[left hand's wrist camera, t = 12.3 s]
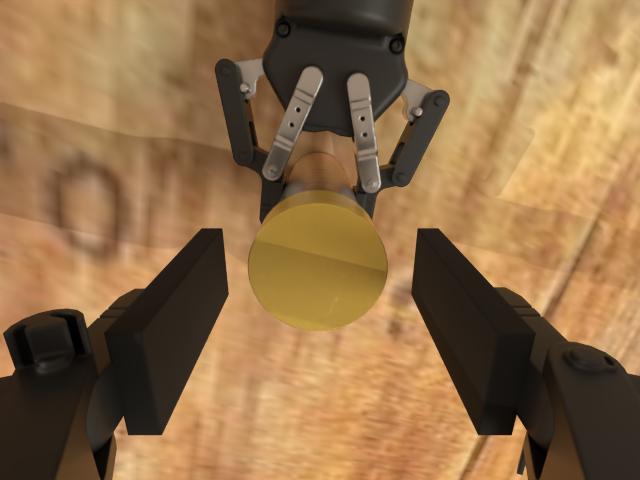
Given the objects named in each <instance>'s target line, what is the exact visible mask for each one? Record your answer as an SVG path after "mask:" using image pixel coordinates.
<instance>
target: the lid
mask: <svg viewBox="0 0 640 480" xmlns="http://www.w3.org/2000/svg"><path fill="white" fill-rule="evenodd" d="M387 272H388V262H387V255H386V251H385V248H384V245H383V243H382V241H381V239H380V236H379V234H378V232H377V230H376V228H375V226H374V224H373V221H372V220H371V218H370V217H369V215H368V214H367V213H366V211H365V210H364V209H363V208H362V207H361V206H360V205H359V204H357V203H356V202H355V201H353V200H352V199H350V198H348V197H346V196H344V195H342V194H339V193H336V192H331V191H326V190H310V191H304V192H300V193H297V194H294V195H292V196H290V197H288V198H286V199H284V200H283V201H281V202H280V203H278V204H277V205H276V206H275V207H274V208H273V209H272V210H271V211H270V212H269V213H268V215H267V216H266V218H265V219H264V221H263V223H262V225H261V227H260V229H259V231H258V233H257V236H256V238H255V240H254V242H253V244H252V247H251V250H250V253H249V259H248V274H249V280H250V284H251V287H252V289H253V292H254V294H255V296H256V297H257V299H258V301H259V302H260V303H261V305H262V306H263V307H264V308H265V309H266V310H267V311H268V312H269V313H270V314H271V315H273V316H274V317H275V318H277V319H278V320H280V321H282V322H283V323H285V324H288V325H290V326H293V327H296V328H299V329H304V330H312V331H324V330H331V329H336V328H340V327H343V326H345V325H348V324H350V323H352V322H354V321H356V320H357V319H359V318H360V317H362V316H363V315H364V314H366V313H367V312H368V311H369V310H370V309H371V308H372V306H373V305H374V304H375V303H376V301H377V300H378V298H379V297H380V295H381V293H382V291H383V288H384V286H385V282H386V278H387Z"/></svg>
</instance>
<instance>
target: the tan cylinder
mask: <svg viewBox="0 0 640 480" xmlns="http://www.w3.org/2000/svg"><path fill="white" fill-rule="evenodd" d="M310 190H326V191H331V192H336V193H339V194H342V195H344V196H346V197H348V198H350V199H352V200H353V201H355V202H356V203H357V200H356V198H355V195H354V193H353V190H352V188H351V185H350V183H349V180H348V178H347V175H346V173H345V170H344V168H343V166H342V165H341V163H340V162H339V161H338V160H337V159H336V158H334V157H333V156H331V155H329V154H326V153H321V152H316V153H310V154H308V155H305V156H304V157H302V158H301V159H300V160H299V161H298V162H297V163H296V164H295V166H294V167H293V170H292V172H291V174H290V177H289V179H288V182H287V184H286V186H285V189H284V191H283V194H282V196H281V199H280V201H279V203H280V202H281V201H283V200H284V199H286V198H288V197H290V196H292V195H294V194H297V193H300V192H304V191H310ZM357 204H358V203H357Z"/></svg>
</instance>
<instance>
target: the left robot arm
mask: <svg viewBox="0 0 640 480" xmlns="http://www.w3.org/2000/svg"><path fill="white" fill-rule="evenodd" d="M228 295H229V293H228V282H227V272H226V262H225V251H224V241H223V231H222V228H202V229H201V230H200V231H199V232H198V233H197V234H196V235H195V236H194V237H193V238H192V239H191V240H190V241H189V242H188V244H187V245H186V246H185V247H184V248H183V249H182V250H181V251H180V252H179V253H178V254H177V255H176V256H175V257H174V258H173V260H172V261H171V262H170V263H169V264H168V265H167V266H166V267H165V268H164V269H163V270H162V271H161V272H160V273H159V274H158V276H157V277H156V278H155V279H154V280H153V281H152V282H151V283H150V284H149V285H148V286H147V287H146V288H145V289H134V290H132V291H130V292H128V293H126V294H124V295H123V296H121V297H119V298H118V299H117V300H116V301H115V302H114V303H113V304H112V305H111V306H110V307H109V309H108V310H106V311H105V312H104V313H103V314H102V315H100V318H97V319H96V320H95V321H94V322H93V323H92V324H91V325H90V326H89V327H88V328H87V327H86V323H85V319H84V315H83V313H81V312H80V311H78V310H74V309H56V310H50V311H46V312H42V313H38V314H35V315H33V316H30V317H27V318H25V319H23V320H21V321H19V322H17V323H15V324H14V325H12V326H11V327H9V328H8V329H7V330H6V331H5V332H4V333H3V335H4V338H5V341H6V344H7V346H8V349H9V352H10V355H11V358H12V361H13V364H14V366H15V371H14V373H13V375H12V376H7V377H2V378H0V480H112V477H113V470H114V463H115V456H116V450H117V447H116V440H115V436H114V430H115V429H116V427H117V425H118V424H119V422H120V421H121V419H122V418H123V416H124V419H125V423H126V428H127V432H128V435H162V434H163V431H164V429H165V427H166V425H167V423H168V421H169V419H170V417H171V415H172V413H173V410H174V408H175V406H176V404H177V402H178V400H179V398H180V396H181V394H182V391H183V389H184V387H185V385H186V383H187V381H188V379H189V377H190V375H191V373H192V370H193V368H194V366H195V364H196V362H197V360H198V358H199V356H200V354H201V351H202V349H203V347H204V345H205V343H206V341H207V339H208V337H209V335H210V333H211V330H212V328H213V326H214V324H215V322H216V320H217V318H218V316H219V314H220V312H221V309H222V307H223V305H224V303H225V301H226V299H227V297H228ZM411 295H412V297H413V299H414V301H415V303H416V305H417V307H418V309H419V312H420V314H421V316H422V318H423V320H424V322H425V324H426V326H427V328H428V330H429V333H430V335H431V337H432V339H433V341H434V343H435V345H436V347H437V349H438V351H439V354H440V356H441V358H442V360H443V362H444V364H445V366H446V368H447V370H448V373H449V375H450V377H451V379H452V381H453V383H454V385H455V387H456V389H457V391H458V394H459V396H460V398H461V400H462V402H463V404H464V406H465V408H466V410H467V413H468V415H469V417H470V419H471V421H472V423H473V425H474V427H475V429H476V431H477V434H478V435H512V432H513V428H514V423H515V419H516V415H517V416H518V417H519V419H520V420H521V422H522V423H523V425H524V427H525V428H526V430H527V432H526V436H525V440H524V444H523V448H522V451H521V455H520V459H519V463H518V469H517V474H521V475H523V471H524V467H525V466H526V469H527V476H528V480H640V376H637V375H632V374H628V373H627V372H626V370H625V369H624V368H623V366H622V365H621V364H620V363H619V362H618V361H617V360H616V359H614V358H613V357H611V356H610V355H608V354H607V353H605V352H603V351H601V350H598V349H596V348H594V347H592V346H588V345H585V344H581V343H577V342H568V341H567V340H566V339H565V338H564V337H563V336H562V335H561V334H560V333H559V332H558V331H557V330H556V329H555V328H554V327H553V326H552V325H551V324H550V323H549V322H548V321H546V320H545V319H544V318H543V317H541V316H540V314H539V313H538V312H537V311H536V310H535V309H534V308H532V306H531V305H530V304H529V303H528V302H527V301H526V300H525V299H524V298H523V297H522V296H520V295H518V294H516V293H515V292H513V291H511V290H509V289H507V288H505V287H493V286H492V285H491V284H490V283H489V282H488V281H487V280H486V279H485V278H484V277H483V276H482V274H481V273H480V272H479V271H478V270H477V269H476V268H475V267H474V266H473V265H472V264H471V263H470V262H469V261H468V260H467V258H466V257H465V256H464V255H463V254H462V253H461V252H460V251H459V250H458V249H457V248H456V247H455V246H454V245H453V244H452V242H451V241H450V240H449V239H448V238H447V237H446V236H445V235H444V234H443V233H442V232H441V231H440V230H439V229H438V228H418V231H417V241H416V251H415V262H414V272H413V282H412V293H411Z"/></svg>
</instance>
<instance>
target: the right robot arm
mask: <svg viewBox="0 0 640 480" xmlns="http://www.w3.org/2000/svg"><path fill="white" fill-rule="evenodd" d="M413 1H414V0H276V8H275V21H274V32H273V36H272V39H271V42H270V44H269V46H268V47H267V49H266V50H265V52H264V54H263V58H259V59H252V60H246V61H240V62H232V61H230V60H228V59H222V60H220V61H218V62H217V64H216V66H215V74H216V78H217V83H218V87H219V92H220V97H221V101H222V106H223V111H224V115H225V120H226V124H227V129H228V134H229V138H230V143H231V148H232V152H233V157H234V160H235V162H236V163H237V164H238V165H240V166H246V167H248V168H250V169H252V170H254V171H256V172H257V173H258V174H259V175H260V176H261V179H262V193H261V206H260V222H261V225H262V223H263V221H264V219H265V218H266V216H267V215H268V213H269V212H270V211H271V210H272V209H273V208H274V207H275V206H276V205H277V204H278V203H279V201H280V199H281V196H282V194H283V191H284V189H285V186H286V180H287V177H284V169H285V167H286V164H287V162H288V160H289V158H290V156H291V153H292V151H293V149H294V147H295V144H296V142H297V140H298V138H299V136H300V133H301V131H308V132H321V131H331V132H333V133H335V134H338V135H340V136H345V137H351V141H352V147H353V152H354V157H355V163H356V169H357V175H358V179H357V186H353V189H352V190H353V193H354V195H355V198H356V200H357V203H358V204H359V205H360V206H361V207H362V208H363V209H364V210H365V211H366V213H367V214H368V215H369V217H370V218H371V220H372V218H373V212H374V207H375V202H376V197H377V195H378V193H379V192H380V191H381V190H383V189H385V188H389V187H393V186H398V187H404V186H406V185H408V184H409V183H410V181H411V179H412V177H413V175H414V173H415V171H416V169H417V167H418V165H419V163H420V161H421V159H422V157H423V155H424V153H425V151H426V149H427V147H428V145H429V143H430V141H431V139H432V137H433V135H434V133H435V131H436V129H437V127H438V125H439V123H440V121H441V119H442V117H443V115H444V113H445V111H446V109H447V107H448V105H449V102H450V98H449V95H448V93H447V92H445V91H443V90H431V89H429V88H427V87H425V86H423V85H421V84H418V83H416V82H414V81H412V80H410V79H408V71H407V68H406V64H405V58H404V51H405V45H406V39H407V34H408V28H409V23H410V17H411V12H412V6H413ZM263 77H267V79H268V81H269V83H270V84H271V86H272V88H273V90H274V92H275V94H276V96H277V97H278V99H279V101H280V103H281V105H282V107H283V108H284V110H285V112H286V113H285V115H284V117H283V120H282V122H281V124H280V127H279V129H278V131H277V134H276V136H275V139H274V142H273V144H272V147H271V149H270V151H269V152H267V151H265V150H263V149H261V148H259V146H258V141H257V136H256V131H255V126H254V120H253V115H252V110H251V105H250V99H253V98H255V97H256V96H257V94H258V90H259V89H258V85H259V82H260V80H261V79H262V78H263ZM399 96H401V97H402V98H403V100H404V108H403V117H404V118H405V119H406V120H407V121H408V123H407V125H406V127H405V129H404V131H403V133H402V135H401V137H400V140H399V142H398V144H397V146H396V148H395V150H394V152H393V154H392V156H391V159H390V161H389V163H388V164H387V165H382V166H379V163H378V156H377V153H378V149H377V141H376V134H375V127H374V122H375V121H376V120H377V119H378V118H379V117H380V116H381V115H382V114H383V113H384V112H385V111H386V110H387V109H388V108H389V107H390V105H391V104H392V103H393V102H394V101H395V100H396V99H397V98H398V97H399Z"/></svg>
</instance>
